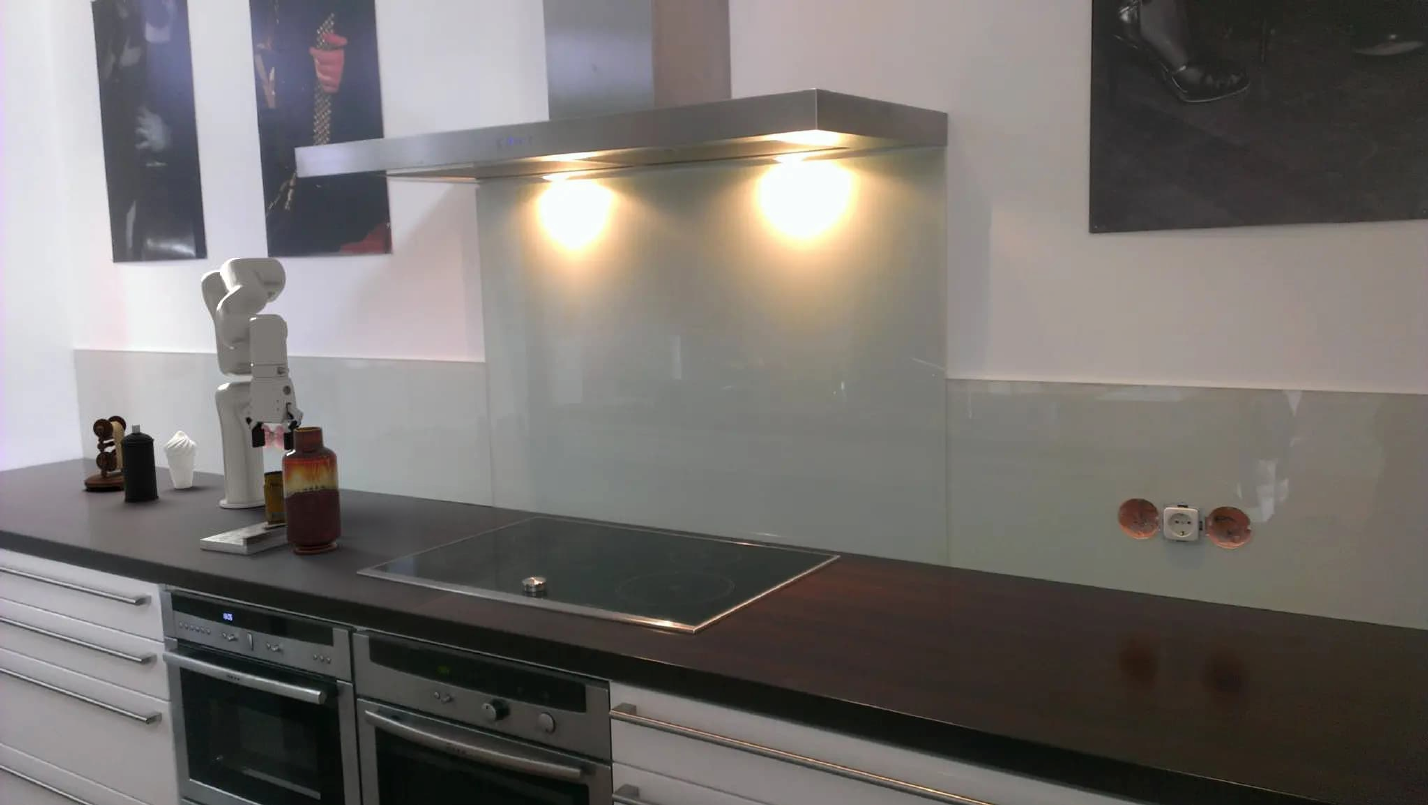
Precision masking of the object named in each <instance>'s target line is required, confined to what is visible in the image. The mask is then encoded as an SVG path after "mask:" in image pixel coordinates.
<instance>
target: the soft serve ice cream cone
mask: <svg viewBox="0 0 1428 805" xmlns="http://www.w3.org/2000/svg"><path fill="white" fill-rule="evenodd" d="M197 447H198V446H197V443H196V442H195V441H193V440H191V439H190V438H189V436H188V435H187V434H186V433H185V432H183V431H182V430H179V431H177V432H176V433H175V434H174V436H173V437H172V438H171V439H170V440H169V441H168V442H166V443H165V445H164V446H163V452H164V454H165V455H166V459H167V465H168V471H169V473H170V477H171V480H172V483H173V486H174V489H178V490H179V489H189V488H191V487H192V485H193V478H194V470H195V468H196V467H195V457H196V451H197V449H198V448H197Z"/></svg>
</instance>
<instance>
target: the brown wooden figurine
mask: <svg viewBox="0 0 1428 805" xmlns="http://www.w3.org/2000/svg"><path fill="white" fill-rule="evenodd" d="M126 430H127V422H126V420H125V419H124V418H123V417H121V416H120V415H112V416H110V417H109V418H108V419H107V418H99V419H97V420H96V421H94V422H93V425H92V432H93V434H94V435H95V436H96V437H97V438H98V439H97V441H98V443H97V445H96V447H97V450H98V452H100V453H98V454H97V456H96V458H95V463H96V466H97V468H98V469H99V470H101V471H100V473H97V474H93V475H91V476H89V477H88V478H87V479H85V480H83V482H84V483H83V485H84V486H85V489H86V490H87V491H91V488H111V487H119V489H120V490H121V491H124V479H123V467H122V454H121V444H120V443H119V442H120V441H121V440H122V439H123V438H124V437H125V436H126V434H125V432H126ZM110 447H111V448H113V447H114V448H113V449H112V450H110V452H109V451H107V450H106V449H108V448H110Z"/></svg>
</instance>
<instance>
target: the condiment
mask: <svg viewBox="0 0 1428 805" xmlns="http://www.w3.org/2000/svg"><path fill="white" fill-rule="evenodd" d="M264 478H265V480H264V481H265V484H264V486H263V489H264V498H265V505H264V506H265V507H264V508H265V515H266V522H268V525H276V524H284V523H286V521H285V506H284V491H283V475H282V470H274V471H265V472H264ZM264 526H267V525H264Z"/></svg>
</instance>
